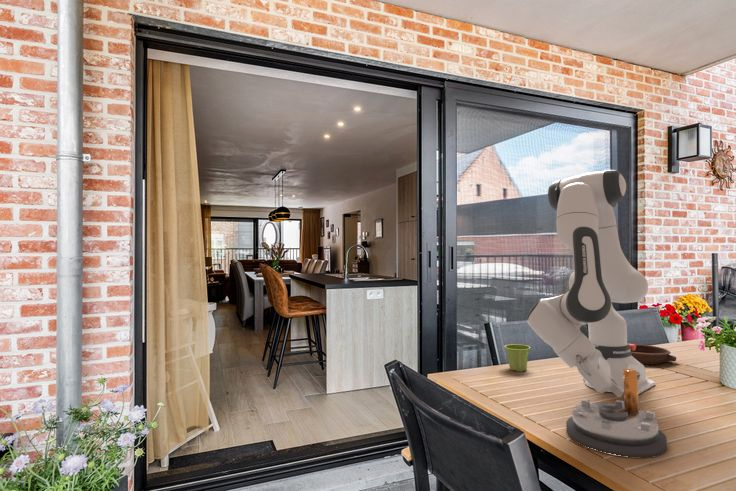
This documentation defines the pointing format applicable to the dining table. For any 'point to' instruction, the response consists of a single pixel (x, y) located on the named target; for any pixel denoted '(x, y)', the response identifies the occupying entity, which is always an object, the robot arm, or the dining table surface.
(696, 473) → the dining table surface
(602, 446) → the base plate
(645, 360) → the dish
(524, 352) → the plant pot
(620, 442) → the round lugged disc
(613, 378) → the robot arm
